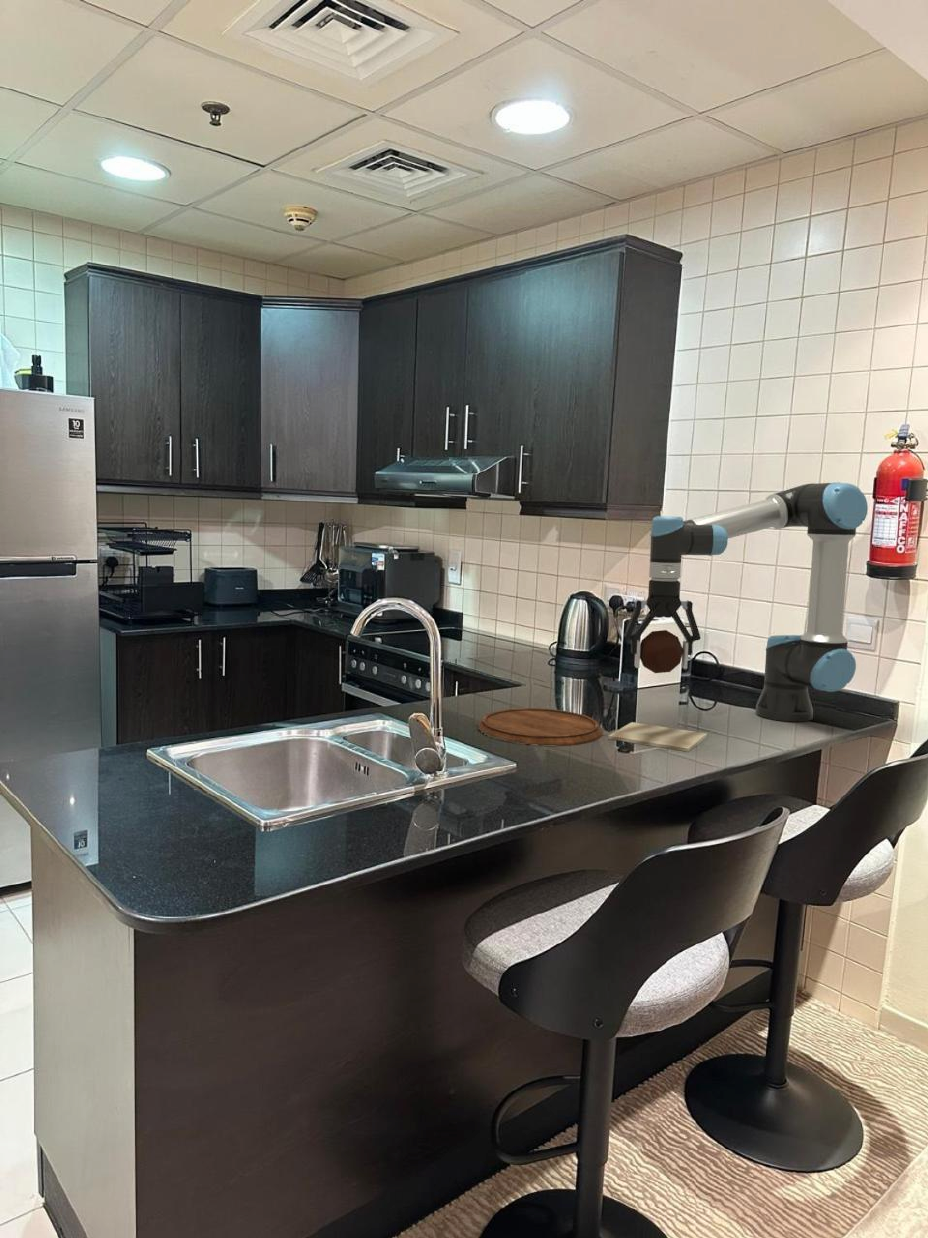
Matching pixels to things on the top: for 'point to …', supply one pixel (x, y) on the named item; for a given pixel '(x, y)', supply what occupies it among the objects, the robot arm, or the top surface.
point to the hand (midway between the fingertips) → (660, 667)
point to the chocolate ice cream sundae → (660, 651)
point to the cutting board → (541, 726)
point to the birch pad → (658, 736)
